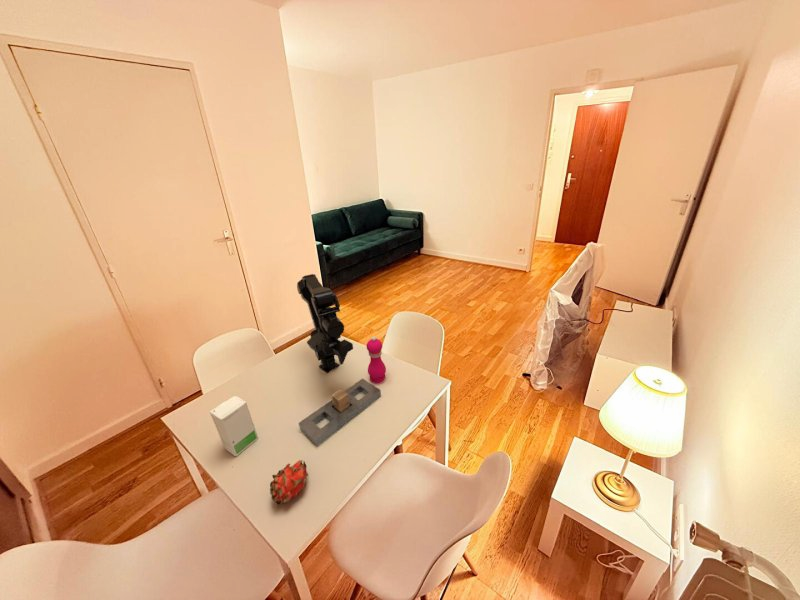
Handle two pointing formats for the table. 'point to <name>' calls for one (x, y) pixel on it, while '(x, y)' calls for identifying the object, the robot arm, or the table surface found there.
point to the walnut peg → (340, 401)
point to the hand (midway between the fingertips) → (334, 359)
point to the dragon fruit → (288, 482)
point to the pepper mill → (376, 361)
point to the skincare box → (234, 425)
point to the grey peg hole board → (334, 416)
